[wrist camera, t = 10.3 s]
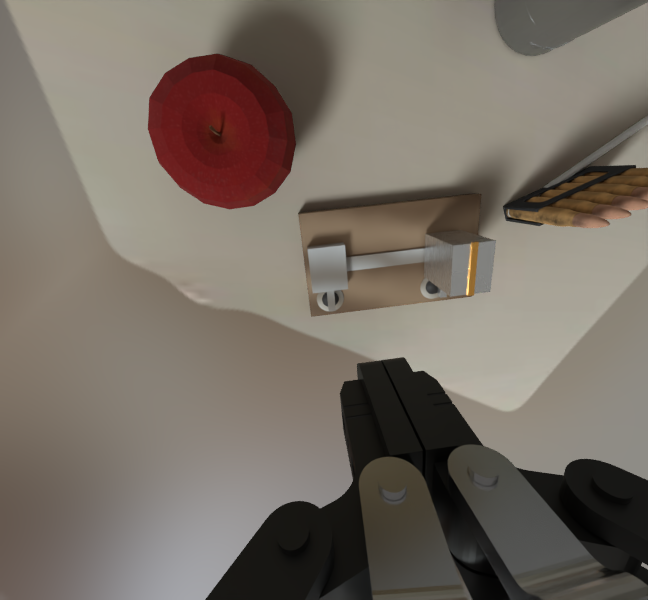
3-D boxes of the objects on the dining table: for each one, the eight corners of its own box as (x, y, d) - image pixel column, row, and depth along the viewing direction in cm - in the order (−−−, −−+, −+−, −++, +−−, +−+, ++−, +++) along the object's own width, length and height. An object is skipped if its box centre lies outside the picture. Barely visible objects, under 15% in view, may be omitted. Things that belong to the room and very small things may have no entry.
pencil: (674, 107, 33) (547, 194, 35) (665, 105, 34) (541, 190, 36) (678, 100, 32) (548, 189, 35) (669, 97, 33) (542, 185, 35)
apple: (178, 186, 32) (118, 190, 21) (189, 67, 28) (124, -2, 17) (282, 213, 34) (277, 230, 23) (305, 105, 30) (311, 64, 19)
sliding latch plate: (298, 212, 34) (298, 216, 31) (473, 193, 35) (489, 194, 32) (310, 311, 38) (311, 321, 36) (465, 292, 39) (479, 300, 36)
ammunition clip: (592, 165, 35) (731, 159, 24) (593, 181, 36) (729, 182, 24) (502, 206, 36) (596, 218, 25) (505, 221, 36) (598, 239, 25)
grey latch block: (425, 232, 34) (454, 244, 28) (460, 228, 34) (497, 239, 28) (423, 296, 37) (449, 320, 31) (456, 292, 37) (488, 315, 31)
